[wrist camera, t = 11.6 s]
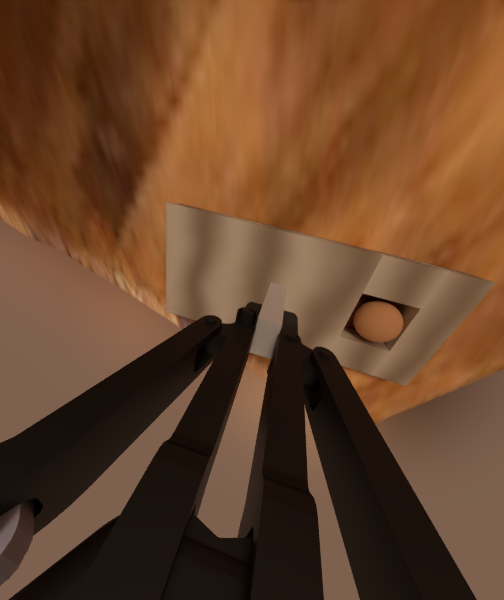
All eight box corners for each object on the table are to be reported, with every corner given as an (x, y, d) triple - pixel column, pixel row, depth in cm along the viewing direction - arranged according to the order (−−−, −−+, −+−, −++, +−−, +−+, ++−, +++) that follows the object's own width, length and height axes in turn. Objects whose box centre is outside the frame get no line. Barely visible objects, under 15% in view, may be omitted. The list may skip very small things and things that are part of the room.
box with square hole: (178, 302, 24) (166, 311, 22) (180, 203, 19) (165, 202, 17) (394, 368, 22) (405, 385, 19) (468, 273, 16) (496, 282, 14)
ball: (384, 327, 15) (409, 351, 16) (392, 288, 16) (414, 313, 17) (340, 328, 18) (363, 348, 19) (350, 296, 20) (370, 316, 21)
